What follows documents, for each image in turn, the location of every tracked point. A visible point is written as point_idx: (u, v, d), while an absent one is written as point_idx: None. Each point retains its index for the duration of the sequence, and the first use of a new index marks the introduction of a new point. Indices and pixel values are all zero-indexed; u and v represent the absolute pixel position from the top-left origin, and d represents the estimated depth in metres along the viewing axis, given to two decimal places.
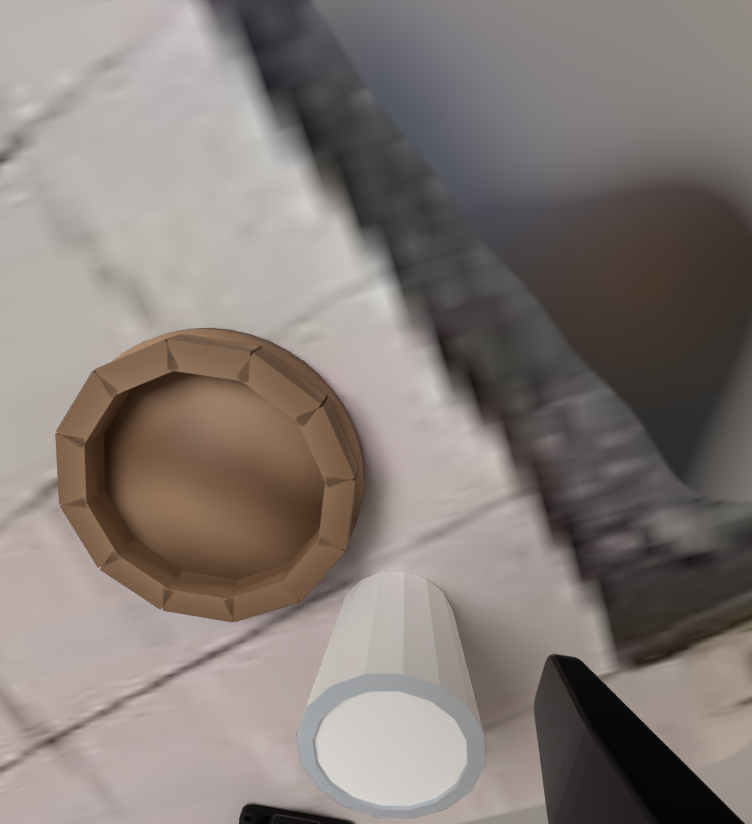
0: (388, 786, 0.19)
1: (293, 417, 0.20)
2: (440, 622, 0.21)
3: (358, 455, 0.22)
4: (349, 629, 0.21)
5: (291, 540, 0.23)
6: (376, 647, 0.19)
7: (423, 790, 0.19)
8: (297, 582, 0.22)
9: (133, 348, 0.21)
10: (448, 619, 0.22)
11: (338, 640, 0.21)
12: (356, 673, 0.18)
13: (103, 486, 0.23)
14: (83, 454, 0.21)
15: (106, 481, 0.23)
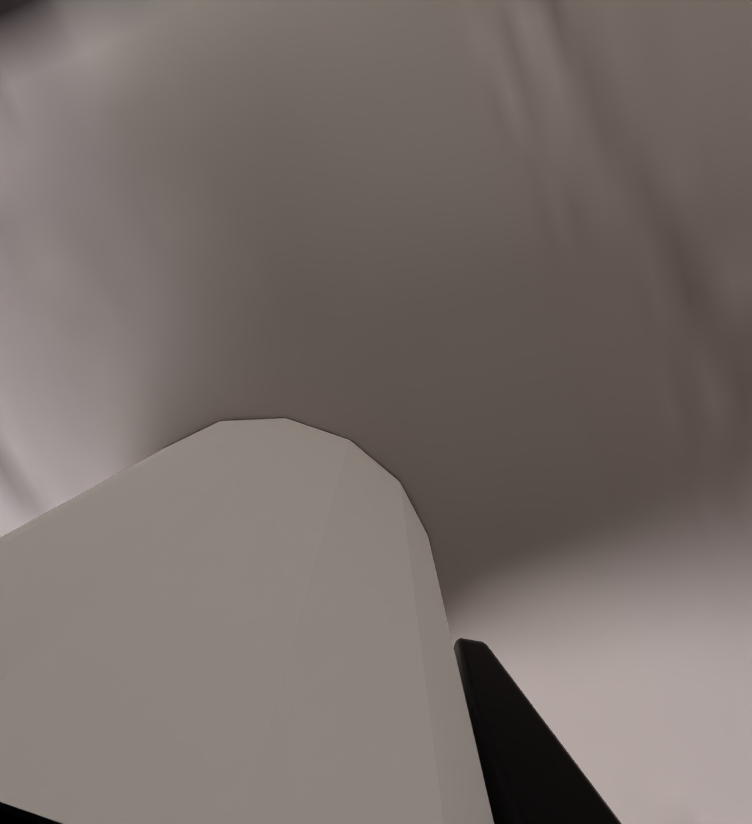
0: None
1: None
2: None
3: None
4: None
5: None
6: None
7: None
8: None
9: None
10: (78, 496, 0.07)
11: None
12: None
13: None
14: None
15: None
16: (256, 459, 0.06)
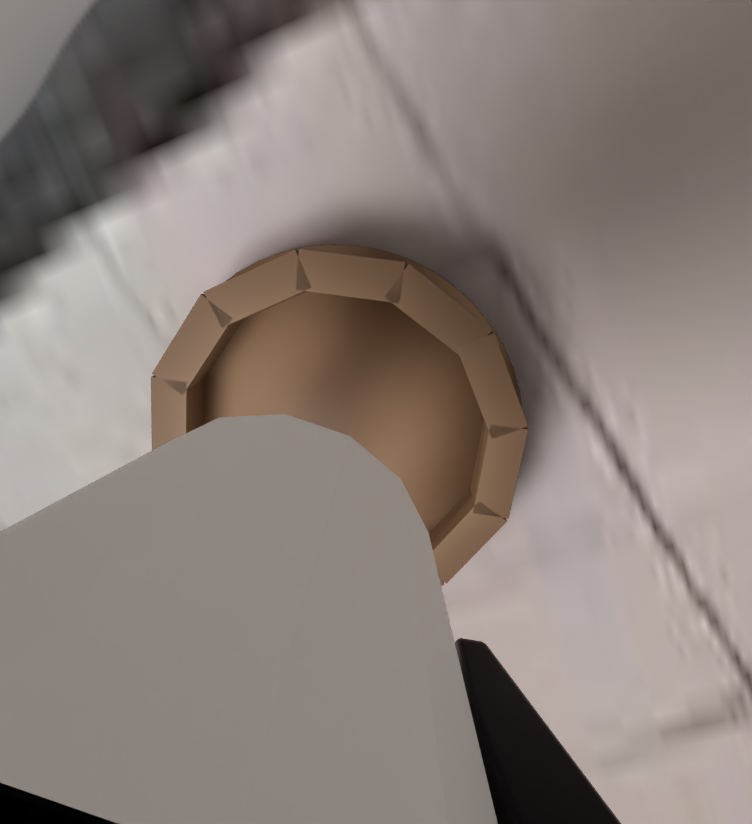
0: None
1: (222, 329, 0.16)
2: None
3: (293, 250, 0.17)
4: None
5: (421, 344, 0.17)
6: None
7: None
8: (460, 334, 0.16)
9: None
10: (77, 492, 0.07)
11: None
12: None
13: None
14: None
15: None
16: (255, 454, 0.06)
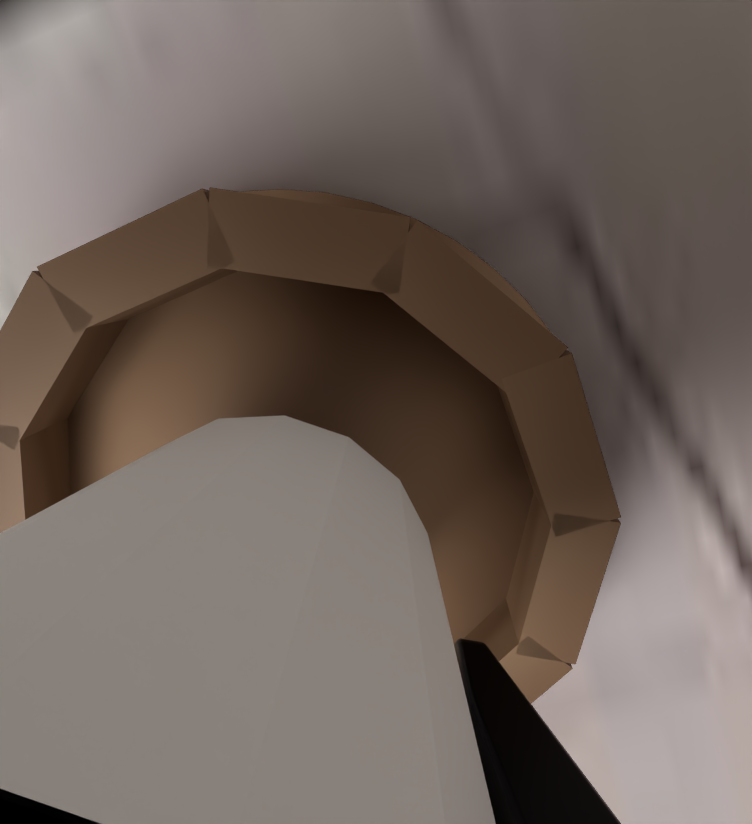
0: None
1: (76, 337, 0.09)
2: None
3: None
4: None
5: (432, 366, 0.10)
6: None
7: None
8: (509, 354, 0.08)
9: None
10: (76, 493, 0.07)
11: None
12: None
13: None
14: None
15: None
16: (254, 456, 0.06)
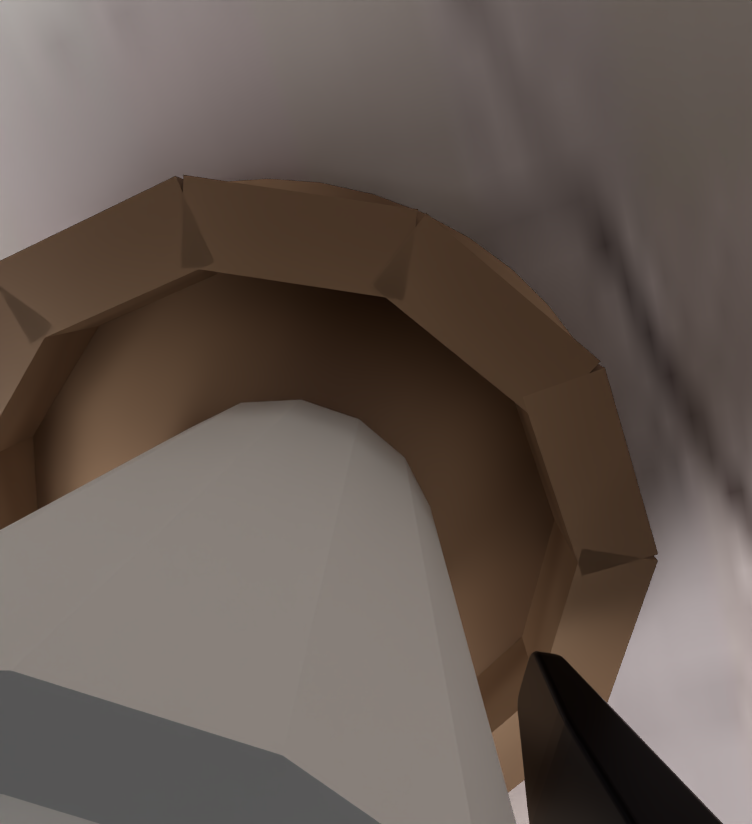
0: None
1: (33, 348, 0.08)
2: None
3: None
4: None
5: (441, 380, 0.09)
6: None
7: None
8: (532, 368, 0.07)
9: None
10: (122, 465, 0.07)
11: None
12: None
13: None
14: None
15: None
16: (280, 431, 0.07)
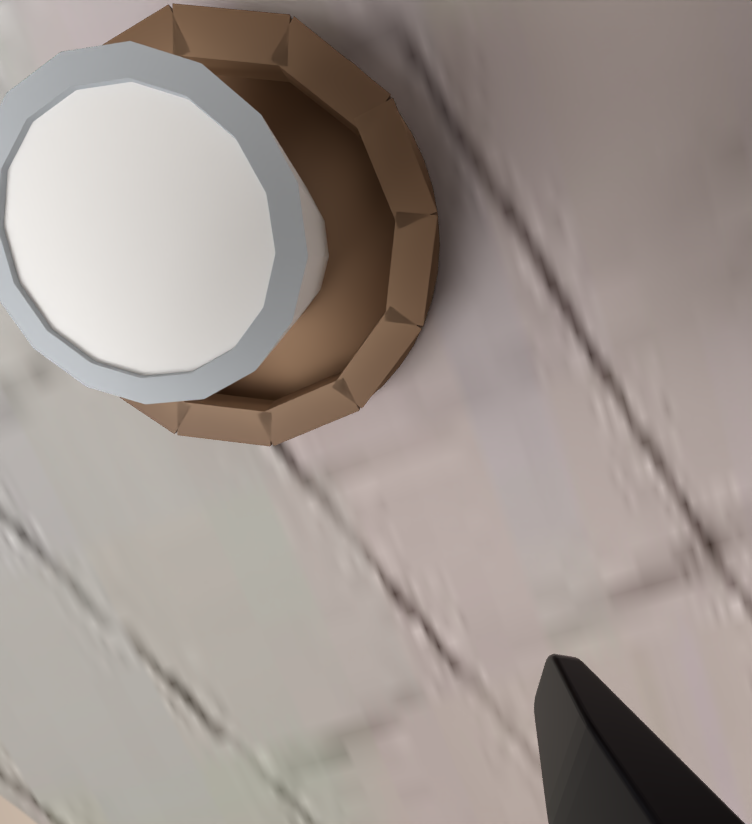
0: (225, 239, 0.10)
1: None
2: None
3: None
4: None
5: (323, 136, 0.16)
6: None
7: (221, 167, 0.10)
8: (356, 101, 0.14)
9: None
10: None
11: None
12: None
13: (268, 401, 0.18)
14: (199, 405, 0.17)
15: (265, 397, 0.18)
16: None
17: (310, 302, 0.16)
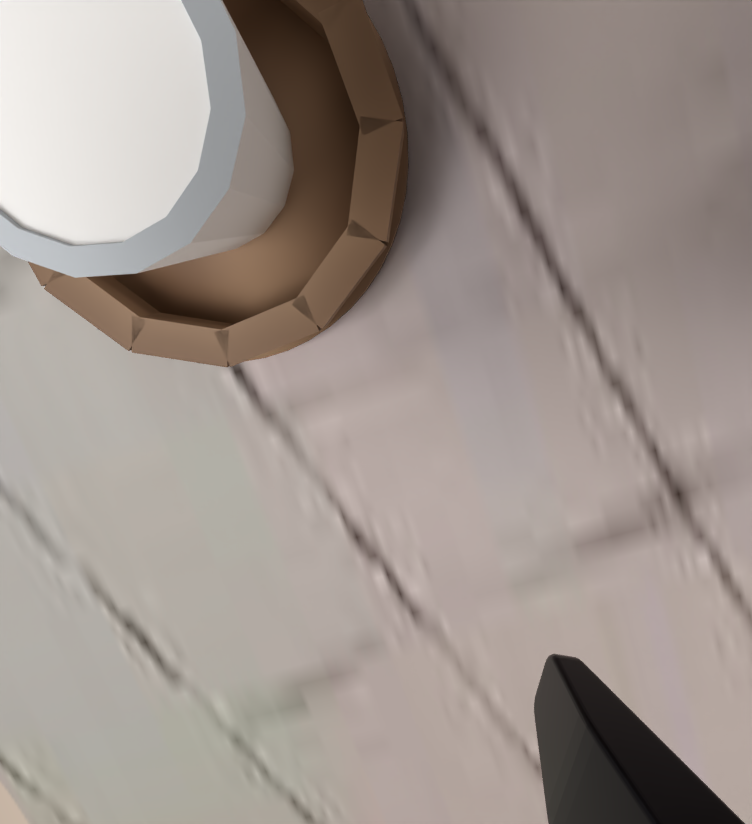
0: (159, 92, 0.10)
1: None
2: None
3: None
4: None
5: (290, 39, 0.15)
6: None
7: (154, 10, 0.09)
8: None
9: None
10: None
11: None
12: None
13: (228, 323, 0.18)
14: (155, 321, 0.16)
15: (226, 321, 0.18)
16: None
17: (271, 215, 0.16)
